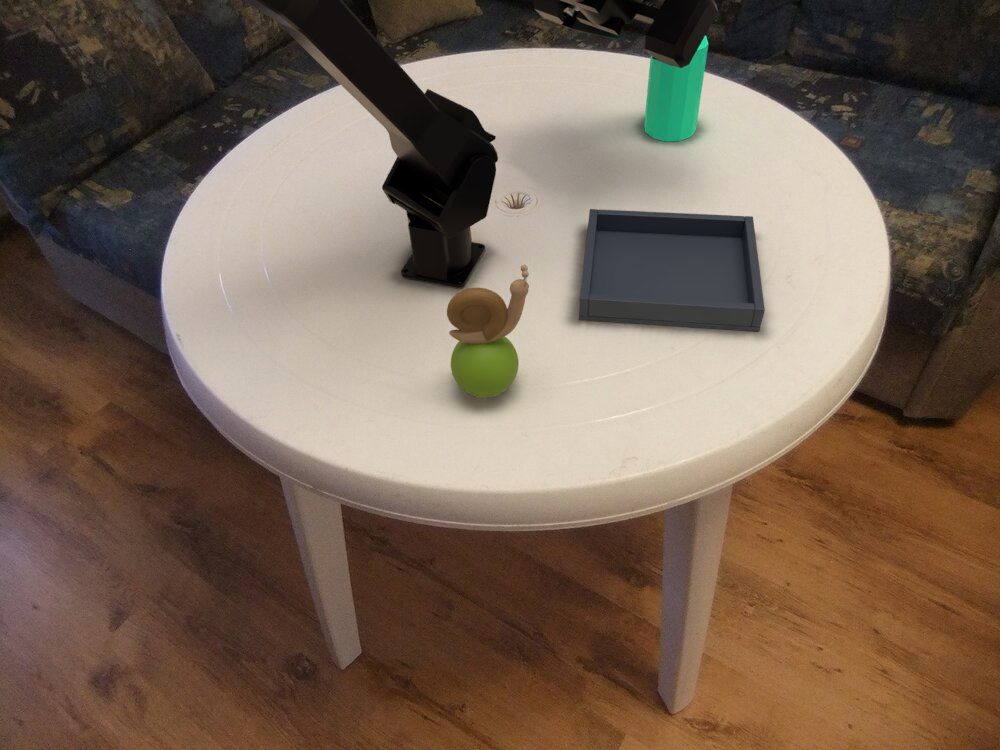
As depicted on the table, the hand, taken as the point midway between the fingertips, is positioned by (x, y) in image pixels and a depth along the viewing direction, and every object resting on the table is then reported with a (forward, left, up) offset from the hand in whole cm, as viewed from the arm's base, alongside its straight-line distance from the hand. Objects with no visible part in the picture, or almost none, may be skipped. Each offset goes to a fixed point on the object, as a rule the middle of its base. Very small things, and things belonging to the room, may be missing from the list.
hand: (653, 46), depth 83 cm
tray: (-23, -7, -11) cm, 26 cm away
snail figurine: (-41, +4, -11) cm, 43 cm away
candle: (+4, -2, -11) cm, 12 cm away
